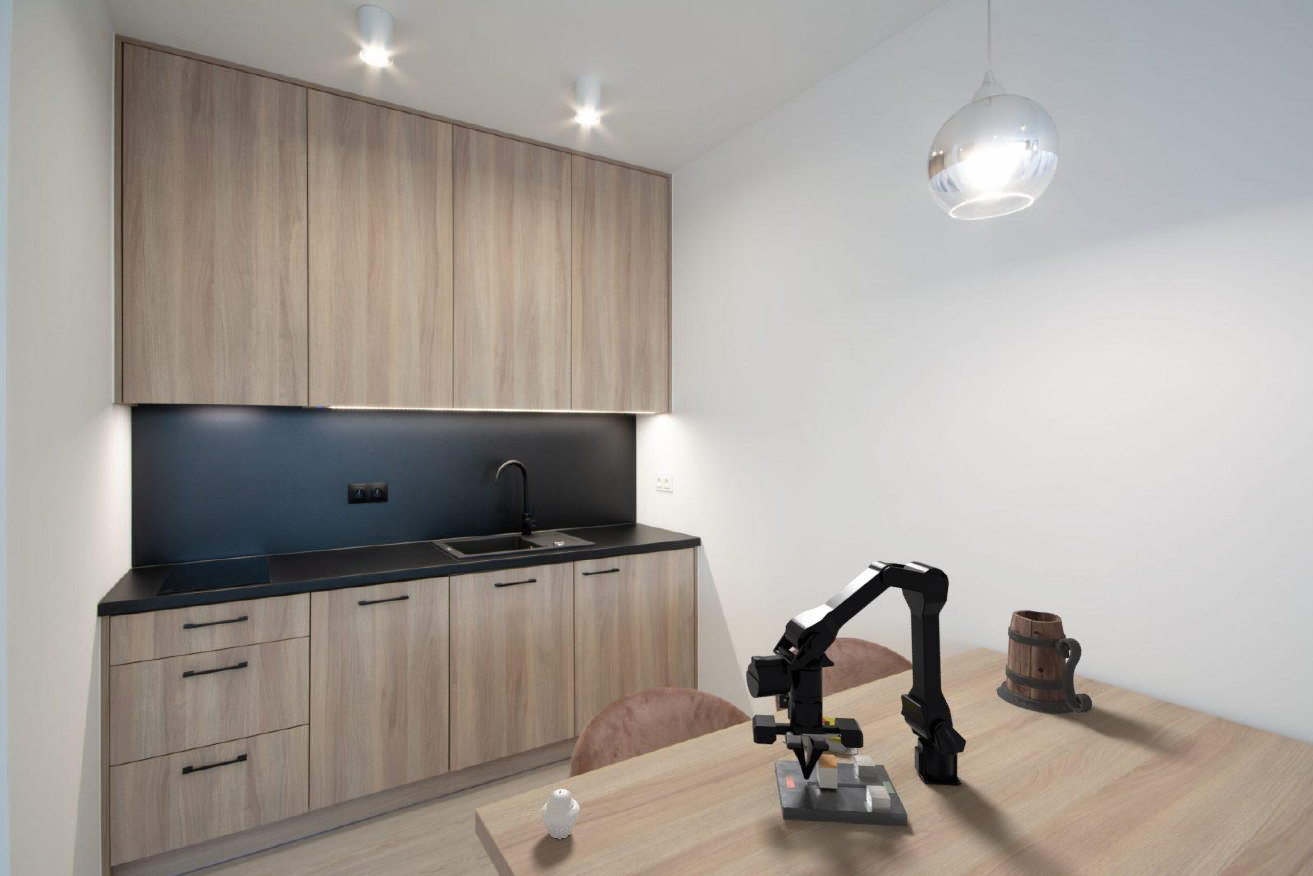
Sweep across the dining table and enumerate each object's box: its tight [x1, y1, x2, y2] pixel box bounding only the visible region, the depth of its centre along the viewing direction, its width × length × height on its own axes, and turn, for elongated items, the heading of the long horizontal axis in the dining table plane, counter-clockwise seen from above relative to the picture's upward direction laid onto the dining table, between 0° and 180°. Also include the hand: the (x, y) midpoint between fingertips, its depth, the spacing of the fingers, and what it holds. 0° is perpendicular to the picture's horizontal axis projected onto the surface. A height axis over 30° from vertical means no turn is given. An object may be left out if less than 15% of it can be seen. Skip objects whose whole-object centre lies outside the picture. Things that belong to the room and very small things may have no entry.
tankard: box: [995, 609, 1093, 715], centre depth 148 cm, size 24×17×20 cm
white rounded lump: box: [540, 788, 581, 840], centre depth 102 cm, size 6×6×7 cm
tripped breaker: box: [817, 753, 838, 788], centre depth 112 cm, size 3×4×4 cm
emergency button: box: [781, 716, 859, 756], centre depth 132 cm, size 9×4×15 cm
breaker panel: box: [774, 754, 908, 827], centre depth 112 cm, size 20×15×4 cm
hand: (806, 778), depth 112 cm, fingers closed
